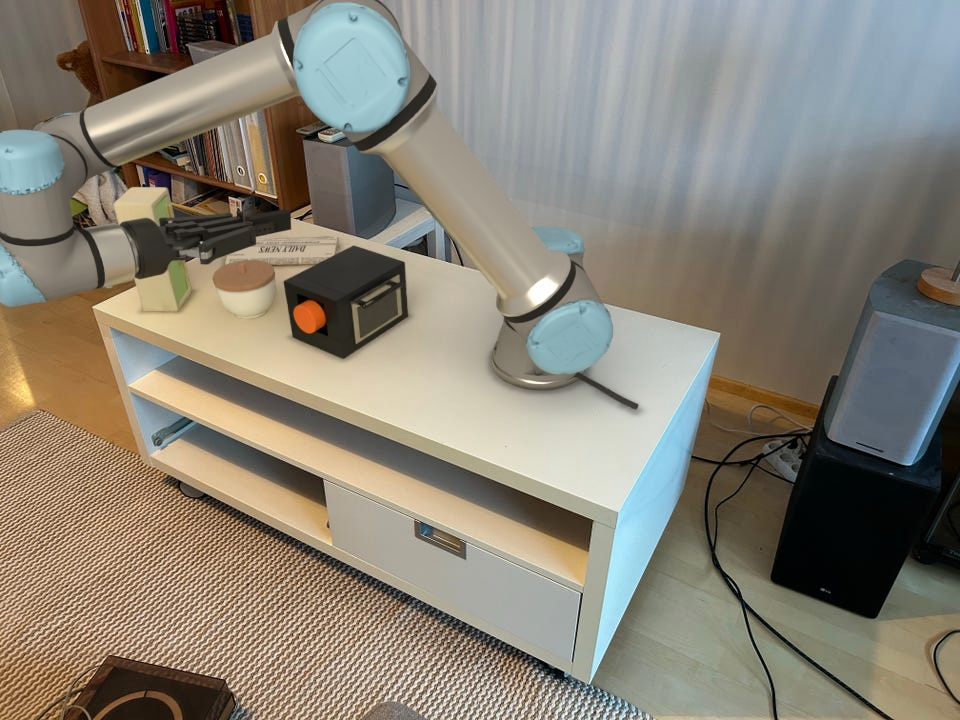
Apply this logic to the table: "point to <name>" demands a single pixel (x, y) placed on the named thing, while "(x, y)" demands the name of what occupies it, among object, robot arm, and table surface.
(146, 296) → the toy refrigerator
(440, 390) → the table surface
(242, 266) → the trinket box
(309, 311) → the button
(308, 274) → the box
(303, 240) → the newspaper
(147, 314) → the table surface
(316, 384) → the table surface
